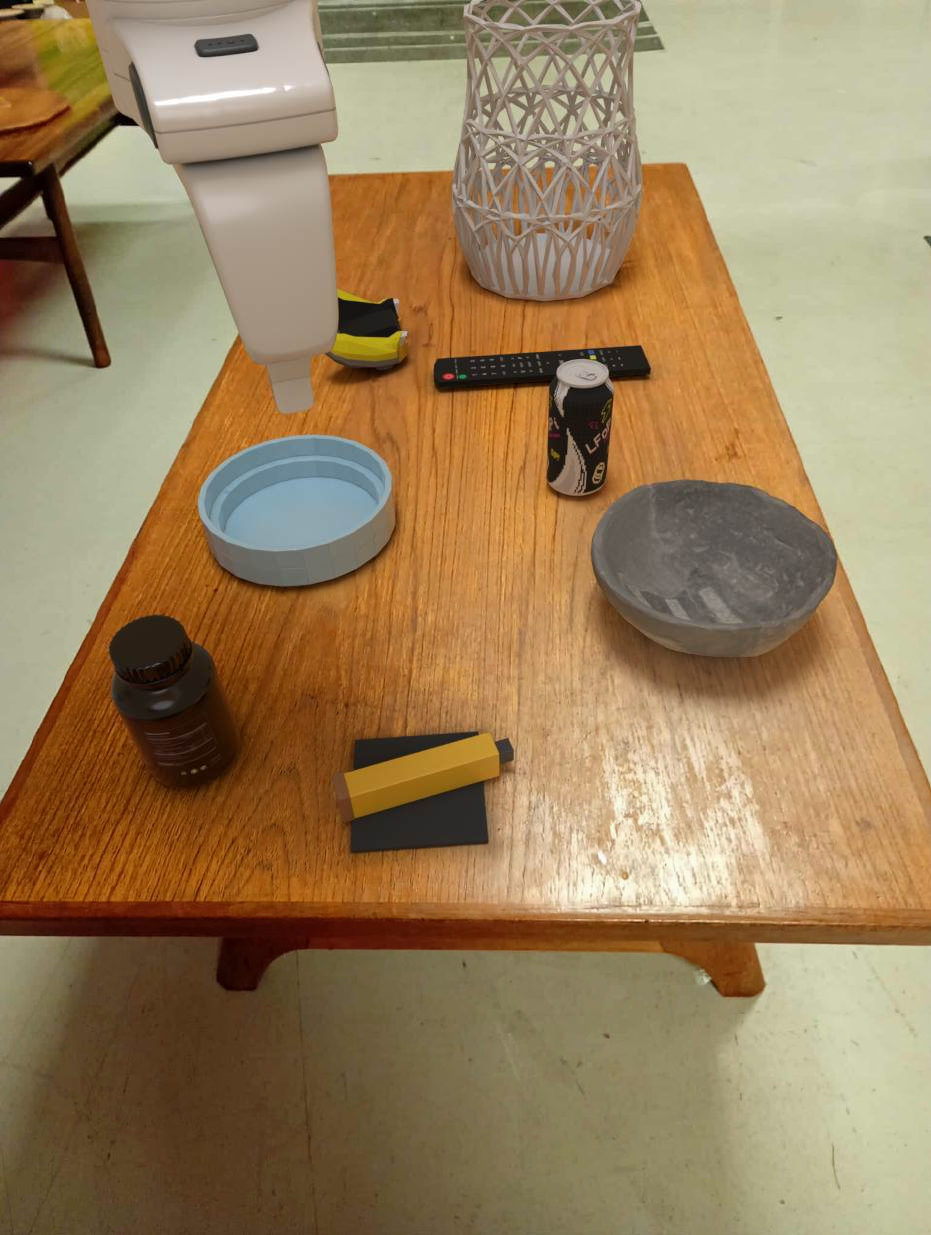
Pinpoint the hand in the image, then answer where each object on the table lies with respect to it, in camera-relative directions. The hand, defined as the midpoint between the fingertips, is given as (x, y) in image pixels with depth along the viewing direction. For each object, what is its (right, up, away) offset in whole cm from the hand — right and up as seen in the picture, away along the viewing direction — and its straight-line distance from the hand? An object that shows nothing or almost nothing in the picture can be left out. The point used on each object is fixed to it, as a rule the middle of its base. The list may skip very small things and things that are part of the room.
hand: (277, 359), depth 46 cm
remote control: (+18, +14, +55) cm, 60 cm away
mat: (+6, -25, +16) cm, 30 cm away
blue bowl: (-5, -5, +37) cm, 37 cm away
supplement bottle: (-10, -23, +19) cm, 31 cm away
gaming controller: (-2, +18, +60) cm, 63 cm away
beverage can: (+20, 0, +40) cm, 45 cm away
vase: (+20, +34, +75) cm, 85 cm away
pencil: (+7, -25, +15) cm, 30 cm away
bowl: (+28, -13, +27) cm, 41 cm away
